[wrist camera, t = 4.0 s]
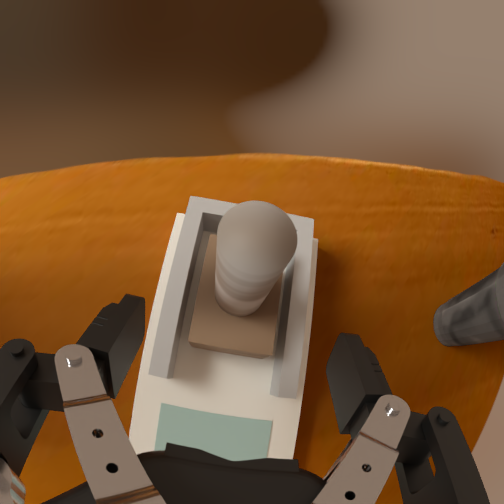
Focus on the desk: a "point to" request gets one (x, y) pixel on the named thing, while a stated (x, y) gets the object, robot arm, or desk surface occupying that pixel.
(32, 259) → the desk surface
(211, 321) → the peg with base
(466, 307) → the beverage cup
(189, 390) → the docking tray
